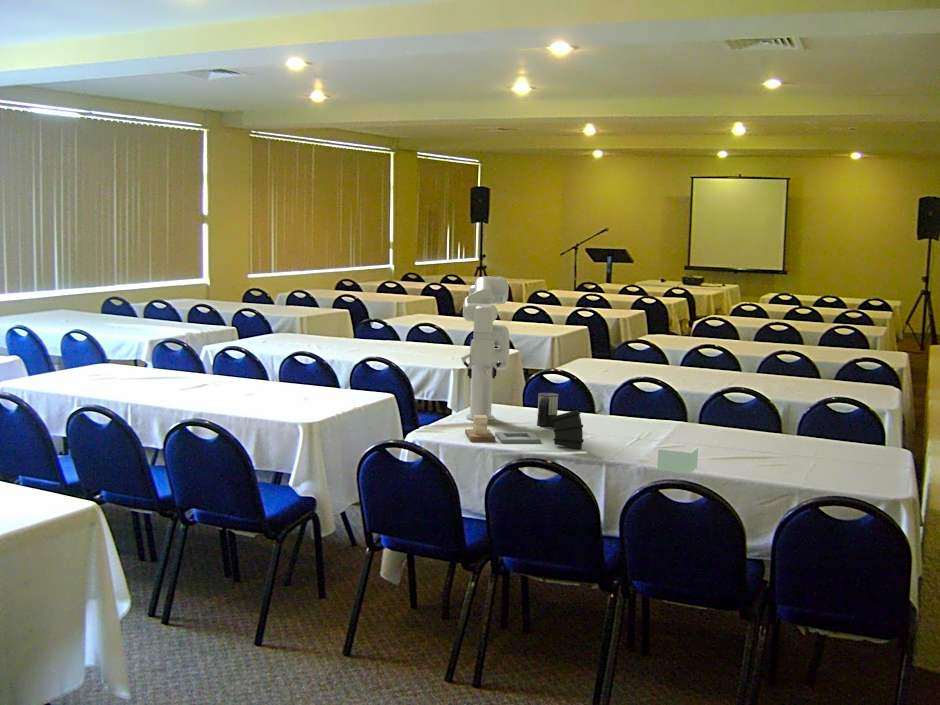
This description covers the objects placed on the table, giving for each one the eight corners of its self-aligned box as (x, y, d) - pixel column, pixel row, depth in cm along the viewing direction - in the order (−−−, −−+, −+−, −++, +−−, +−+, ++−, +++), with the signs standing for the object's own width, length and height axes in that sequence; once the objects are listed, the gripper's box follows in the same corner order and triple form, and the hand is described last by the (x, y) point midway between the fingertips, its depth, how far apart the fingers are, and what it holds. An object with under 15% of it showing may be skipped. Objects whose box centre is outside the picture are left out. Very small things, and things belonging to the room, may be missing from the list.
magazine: (587, 447, 395) (576, 410, 395) (557, 455, 400) (546, 419, 401) (590, 445, 398) (579, 409, 399) (560, 453, 404) (549, 417, 404)
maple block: (473, 431, 417) (473, 415, 416) (485, 431, 417) (485, 415, 417) (474, 434, 412) (475, 417, 411) (487, 434, 412) (487, 417, 412)
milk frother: (536, 425, 447) (537, 392, 446) (572, 426, 446) (573, 393, 445) (536, 431, 433) (538, 396, 431) (573, 432, 432) (575, 398, 431)
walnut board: (465, 434, 422) (465, 429, 422) (488, 434, 423) (488, 429, 423) (470, 441, 406) (470, 436, 406) (495, 441, 408) (495, 436, 407)
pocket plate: (494, 435, 421) (494, 431, 421) (532, 435, 423) (532, 431, 423) (501, 443, 405) (501, 439, 405) (540, 443, 407) (540, 439, 407)
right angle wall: (697, 467, 373) (698, 447, 373) (690, 473, 363) (691, 452, 362) (664, 463, 378) (665, 443, 377) (657, 469, 367) (658, 449, 366)
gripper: (502, 335, 416) (501, 376, 419) (460, 335, 414) (459, 376, 416) (505, 337, 409) (504, 379, 411) (463, 337, 406) (462, 379, 409)
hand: (481, 378), depth 414 cm, fingers open, 9 cm apart
